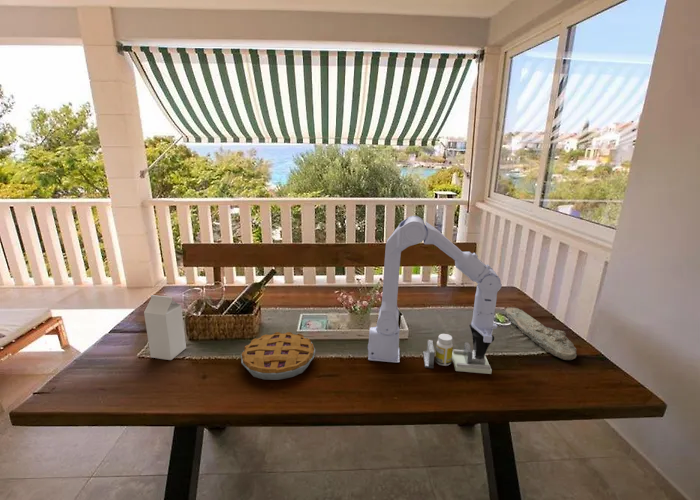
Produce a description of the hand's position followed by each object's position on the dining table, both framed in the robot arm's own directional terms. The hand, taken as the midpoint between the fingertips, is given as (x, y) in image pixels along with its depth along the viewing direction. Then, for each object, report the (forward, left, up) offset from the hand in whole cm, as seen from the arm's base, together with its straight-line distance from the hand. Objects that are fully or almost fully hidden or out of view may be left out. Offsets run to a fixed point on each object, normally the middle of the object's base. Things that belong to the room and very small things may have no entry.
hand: (478, 352), depth 104 cm
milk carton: (-94, -8, -4) cm, 95 cm away
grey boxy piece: (-1, 0, -3) cm, 3 cm away
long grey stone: (+25, +23, -5) cm, 34 cm away
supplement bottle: (-10, 0, -4) cm, 11 cm away
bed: (-2, 0, -4) cm, 5 cm away
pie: (-59, -7, -5) cm, 60 cm away
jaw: (-14, 0, -4) cm, 15 cm away
